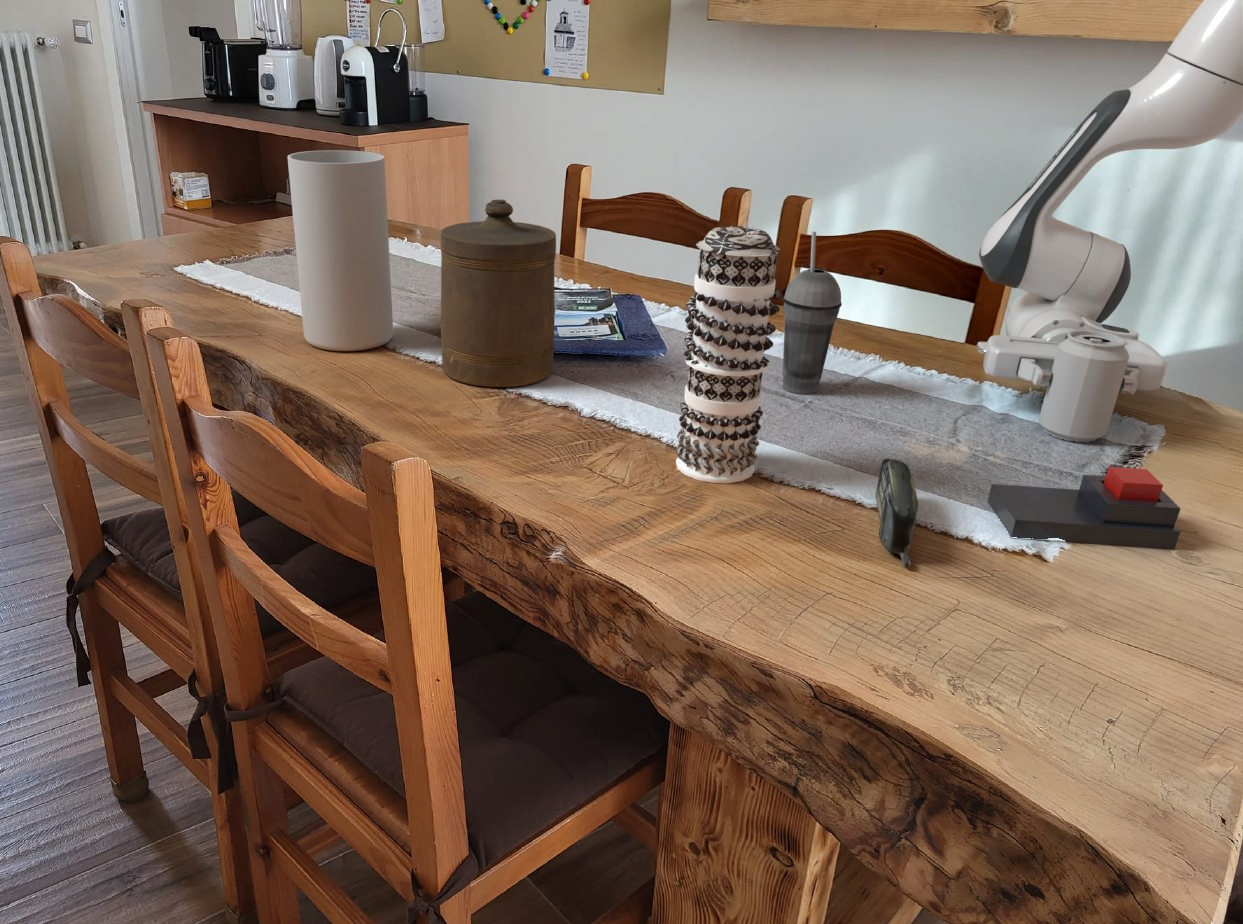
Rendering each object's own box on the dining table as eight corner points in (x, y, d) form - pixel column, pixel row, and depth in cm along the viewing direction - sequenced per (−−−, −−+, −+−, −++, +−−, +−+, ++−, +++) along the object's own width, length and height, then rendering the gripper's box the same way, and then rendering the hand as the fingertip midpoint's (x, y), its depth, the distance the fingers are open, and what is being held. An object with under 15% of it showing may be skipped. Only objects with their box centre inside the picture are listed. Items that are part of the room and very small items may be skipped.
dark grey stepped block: (1138, 511, 100) (1150, 475, 98) (1174, 550, 93) (1187, 512, 91) (987, 501, 101) (995, 465, 100) (1010, 538, 94) (1020, 500, 92)
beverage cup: (804, 402, 125) (827, 242, 116) (760, 385, 130) (779, 231, 121) (839, 390, 130) (864, 235, 121) (795, 375, 135) (816, 225, 126)
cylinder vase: (286, 344, 139) (267, 158, 128) (338, 322, 150) (325, 147, 138) (361, 358, 135) (348, 166, 124) (410, 334, 145) (402, 155, 134)
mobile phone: (878, 453, 99) (892, 516, 86) (909, 456, 99) (928, 520, 86) (870, 498, 102) (882, 566, 88) (900, 501, 101) (917, 570, 88)
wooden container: (560, 356, 138) (565, 193, 129) (543, 392, 125) (546, 214, 115) (457, 348, 140) (453, 187, 130) (429, 383, 127) (423, 207, 117)
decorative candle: (772, 482, 104) (805, 240, 93) (687, 487, 102) (711, 241, 91) (740, 447, 112) (767, 221, 100) (661, 452, 110) (680, 221, 99)
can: (1107, 429, 120) (1135, 334, 115) (1101, 450, 114) (1131, 350, 109) (1041, 416, 124) (1066, 322, 118) (1032, 435, 118) (1058, 337, 112)
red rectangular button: (1140, 488, 97) (1147, 469, 96) (1156, 504, 94) (1163, 485, 93) (1102, 485, 97) (1108, 466, 96) (1117, 501, 94) (1123, 482, 93)
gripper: (979, 317, 128) (998, 349, 116) (1149, 331, 125) (1188, 365, 112) (969, 364, 131) (987, 400, 119) (1135, 379, 127) (1171, 417, 115)
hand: (1086, 383), depth 116 cm, fingers open, 8 cm apart
